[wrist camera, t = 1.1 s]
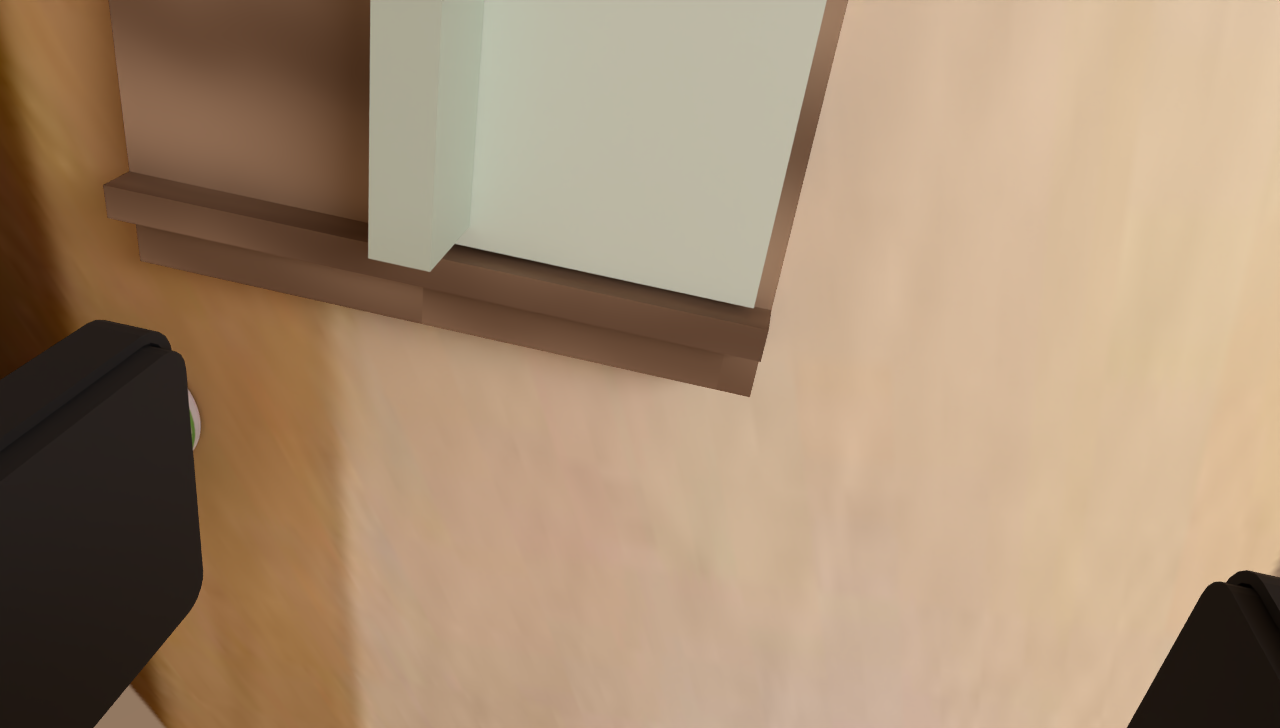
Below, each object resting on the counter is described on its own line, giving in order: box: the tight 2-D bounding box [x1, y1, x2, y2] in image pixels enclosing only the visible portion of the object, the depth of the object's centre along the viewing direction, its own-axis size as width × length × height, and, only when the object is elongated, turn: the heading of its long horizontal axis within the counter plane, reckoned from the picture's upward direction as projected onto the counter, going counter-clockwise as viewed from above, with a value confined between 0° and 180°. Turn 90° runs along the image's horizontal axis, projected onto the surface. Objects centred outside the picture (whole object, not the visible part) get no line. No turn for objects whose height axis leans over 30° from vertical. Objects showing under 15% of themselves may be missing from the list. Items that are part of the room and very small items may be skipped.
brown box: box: [103, 0, 848, 397], centre depth 26 cm, size 16×19×4 cm
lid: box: [368, 0, 827, 308], centre depth 24 cm, size 10×10×4 cm
